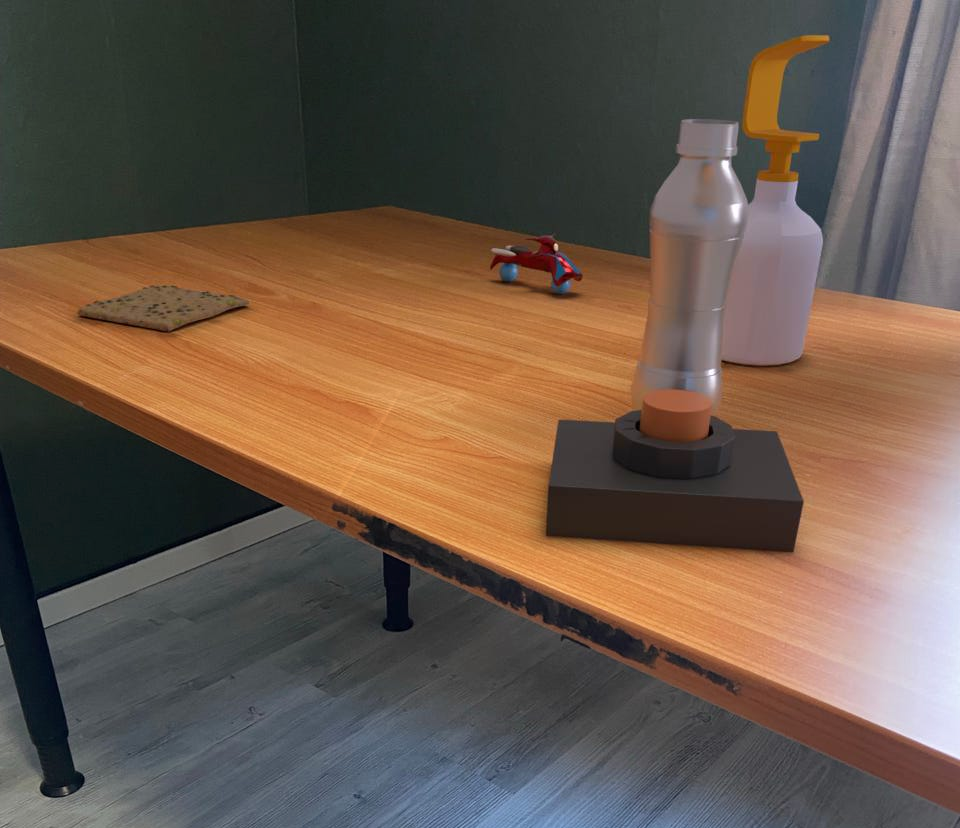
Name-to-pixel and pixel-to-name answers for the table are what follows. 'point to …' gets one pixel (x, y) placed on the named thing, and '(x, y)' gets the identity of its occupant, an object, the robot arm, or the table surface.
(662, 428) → the button
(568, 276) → the hoverbike
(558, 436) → the button base
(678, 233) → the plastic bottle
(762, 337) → the soap bottle
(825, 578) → the table surface
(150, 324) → the tan flat square slab
